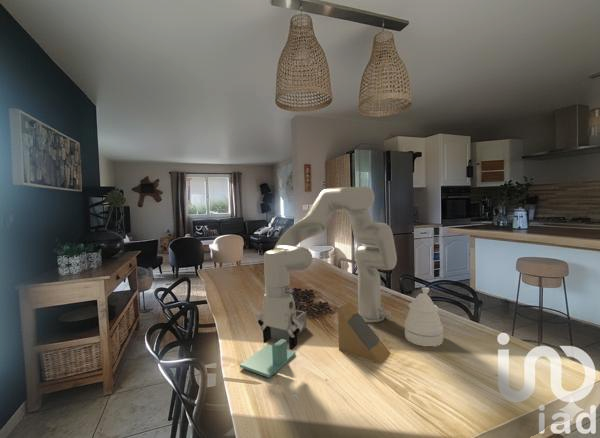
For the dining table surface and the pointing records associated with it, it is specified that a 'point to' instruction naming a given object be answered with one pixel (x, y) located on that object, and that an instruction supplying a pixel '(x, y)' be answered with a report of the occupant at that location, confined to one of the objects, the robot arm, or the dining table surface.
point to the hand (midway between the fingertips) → (279, 344)
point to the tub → (284, 334)
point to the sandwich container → (359, 336)
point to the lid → (269, 359)
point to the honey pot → (423, 322)
